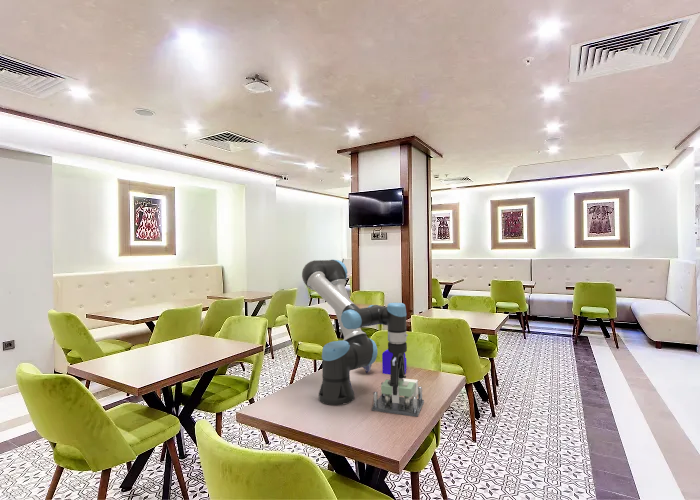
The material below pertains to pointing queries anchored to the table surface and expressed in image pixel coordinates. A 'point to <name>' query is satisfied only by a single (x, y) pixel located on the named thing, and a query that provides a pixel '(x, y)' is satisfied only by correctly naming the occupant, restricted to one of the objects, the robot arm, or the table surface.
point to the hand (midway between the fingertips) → (398, 398)
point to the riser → (415, 386)
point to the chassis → (398, 404)
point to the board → (404, 388)
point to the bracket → (386, 362)
